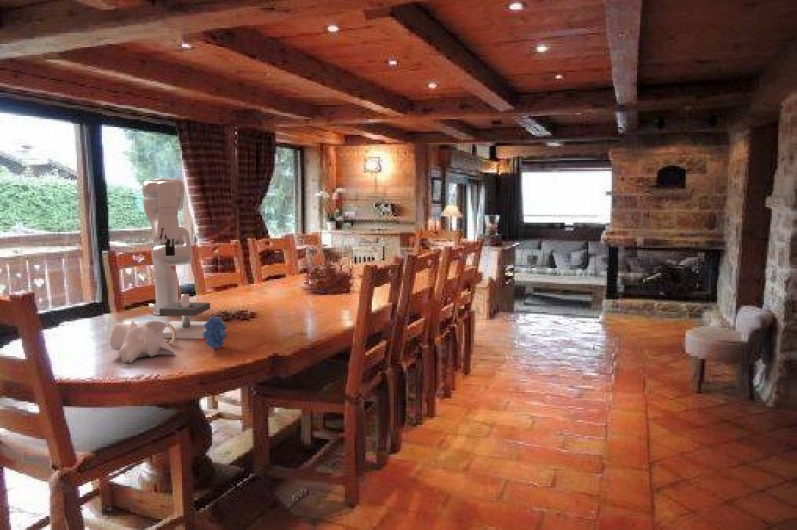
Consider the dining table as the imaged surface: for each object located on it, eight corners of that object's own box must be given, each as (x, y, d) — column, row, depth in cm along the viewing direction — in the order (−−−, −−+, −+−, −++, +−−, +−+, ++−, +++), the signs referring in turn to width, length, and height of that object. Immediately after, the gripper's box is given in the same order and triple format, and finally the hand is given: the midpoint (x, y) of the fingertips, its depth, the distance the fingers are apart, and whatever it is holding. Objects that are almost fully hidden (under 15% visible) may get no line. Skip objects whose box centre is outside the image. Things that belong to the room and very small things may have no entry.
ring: (178, 344, 198) (177, 322, 197) (171, 346, 195) (170, 324, 194) (163, 342, 201) (162, 321, 200) (156, 344, 198) (155, 322, 197)
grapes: (216, 354, 185) (214, 319, 184) (199, 352, 187) (197, 318, 186) (235, 345, 196) (234, 313, 195) (219, 344, 198) (218, 312, 197)
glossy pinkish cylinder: (179, 327, 215) (178, 295, 214) (184, 325, 219) (182, 293, 217) (188, 328, 215) (187, 295, 213) (192, 325, 219) (191, 294, 217)
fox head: (89, 344, 170) (153, 340, 169) (114, 314, 185) (173, 311, 184) (103, 378, 176) (165, 375, 175) (126, 347, 191) (183, 344, 190)
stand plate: (146, 337, 208) (146, 332, 208) (172, 325, 228) (172, 320, 228) (202, 338, 206) (202, 333, 206) (223, 326, 226) (223, 321, 226)
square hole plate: (159, 315, 210) (159, 308, 210) (177, 308, 224) (176, 302, 223) (194, 315, 209) (194, 309, 208) (210, 308, 223) (210, 302, 222)
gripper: (168, 211, 233) (170, 254, 235) (149, 211, 218) (152, 257, 221) (185, 211, 233) (187, 254, 235) (168, 212, 218) (170, 257, 220)
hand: (170, 255), depth 228 cm, fingers closed
